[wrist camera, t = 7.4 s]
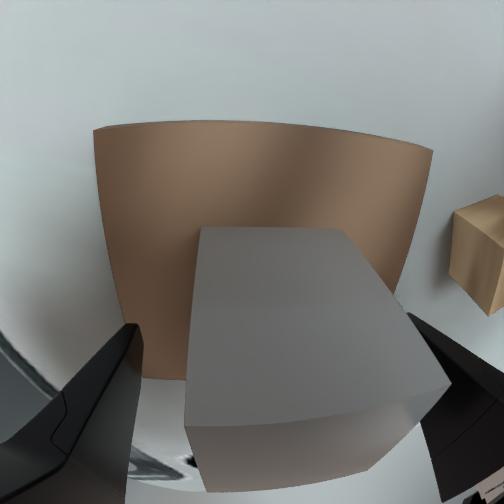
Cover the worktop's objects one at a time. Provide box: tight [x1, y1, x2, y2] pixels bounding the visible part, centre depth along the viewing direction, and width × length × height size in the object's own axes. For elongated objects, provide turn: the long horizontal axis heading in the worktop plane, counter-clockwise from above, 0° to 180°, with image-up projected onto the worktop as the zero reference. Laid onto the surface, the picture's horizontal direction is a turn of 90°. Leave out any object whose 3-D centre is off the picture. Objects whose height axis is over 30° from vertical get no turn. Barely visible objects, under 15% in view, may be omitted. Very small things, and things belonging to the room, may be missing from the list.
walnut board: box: [93, 120, 433, 380], centre depth 12 cm, size 12×12×1 cm
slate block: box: [184, 227, 452, 492], centre depth 8 cm, size 5×5×7 cm
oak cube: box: [448, 194, 504, 316], centre depth 11 cm, size 4×4×4 cm
